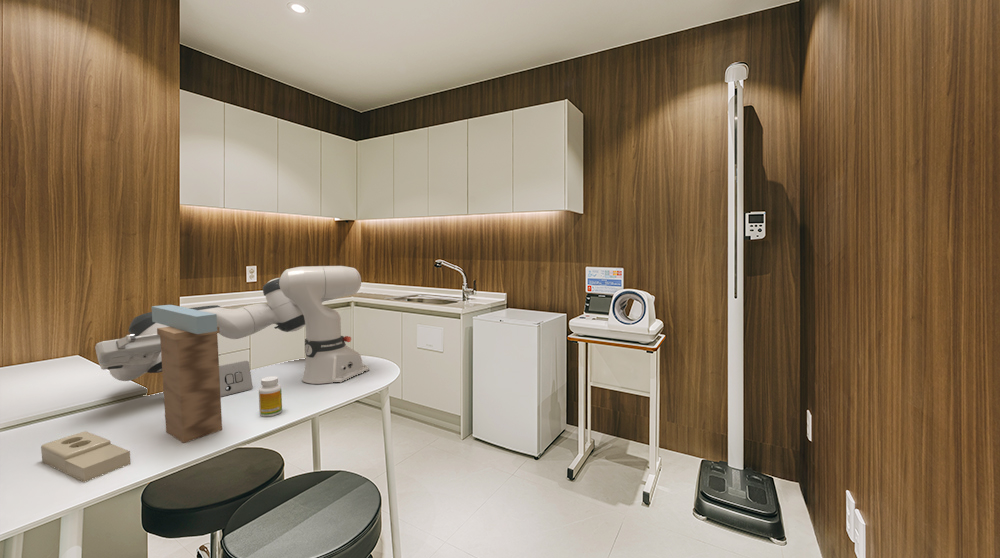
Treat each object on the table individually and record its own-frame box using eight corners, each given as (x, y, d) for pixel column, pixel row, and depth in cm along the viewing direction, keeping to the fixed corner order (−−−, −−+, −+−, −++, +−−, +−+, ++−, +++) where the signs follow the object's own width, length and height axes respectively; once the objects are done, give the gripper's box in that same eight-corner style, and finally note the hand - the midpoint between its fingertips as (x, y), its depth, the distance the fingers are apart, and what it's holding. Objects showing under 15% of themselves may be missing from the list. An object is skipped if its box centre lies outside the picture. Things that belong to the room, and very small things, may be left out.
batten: (171, 319, 106) (170, 304, 106) (217, 331, 92) (216, 314, 92) (152, 321, 102) (151, 306, 102) (197, 334, 89) (196, 316, 88)
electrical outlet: (82, 463, 76) (40, 444, 83) (84, 483, 77) (41, 462, 84) (129, 446, 83) (86, 430, 90) (130, 465, 83) (87, 447, 90)
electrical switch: (218, 398, 119) (216, 367, 119) (213, 395, 122) (210, 365, 122) (253, 389, 126) (251, 360, 126) (247, 387, 130) (245, 359, 129)
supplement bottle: (285, 412, 109) (283, 378, 108) (263, 419, 105) (261, 383, 104) (278, 407, 113) (277, 374, 112) (257, 413, 109) (255, 378, 108)
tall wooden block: (206, 419, 104) (200, 322, 102) (224, 429, 99) (219, 326, 97) (163, 432, 97) (156, 328, 95) (180, 444, 91) (174, 333, 89)
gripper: (185, 354, 122) (202, 337, 116) (93, 371, 105) (106, 352, 98) (180, 335, 124) (196, 317, 117) (88, 349, 106) (100, 329, 99)
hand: (154, 333), depth 107 cm, fingers open, 8 cm apart
